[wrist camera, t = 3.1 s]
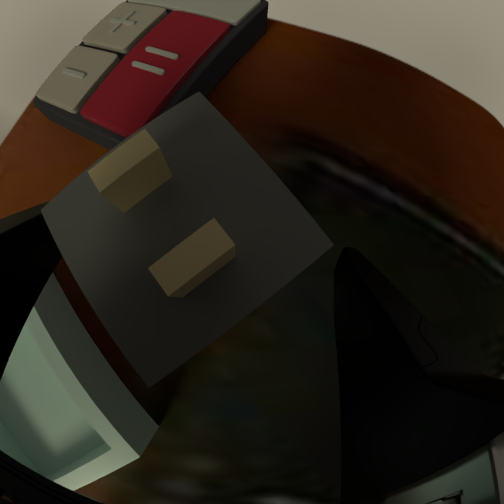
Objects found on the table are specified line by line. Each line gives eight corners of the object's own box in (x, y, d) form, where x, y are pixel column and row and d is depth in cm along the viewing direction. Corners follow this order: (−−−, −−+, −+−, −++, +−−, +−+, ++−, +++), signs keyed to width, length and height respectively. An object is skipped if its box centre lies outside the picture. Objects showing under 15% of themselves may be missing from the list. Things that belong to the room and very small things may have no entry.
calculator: (24, 98, 14) (154, -29, 16) (52, 124, 18) (162, 3, 20) (134, 148, 14) (271, -7, 16) (156, 176, 18) (267, 31, 20)
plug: (269, 282, 17) (357, 230, 4) (205, 332, 16) (128, 408, 4) (220, 218, 17) (194, 55, 5) (157, 267, 16) (9, 192, 4)
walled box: (158, 426, 15) (140, 456, 11) (51, 486, 13) (26, 509, 9) (47, 261, 16) (9, 251, 12) (-34, 353, 14) (-68, 356, 10)
